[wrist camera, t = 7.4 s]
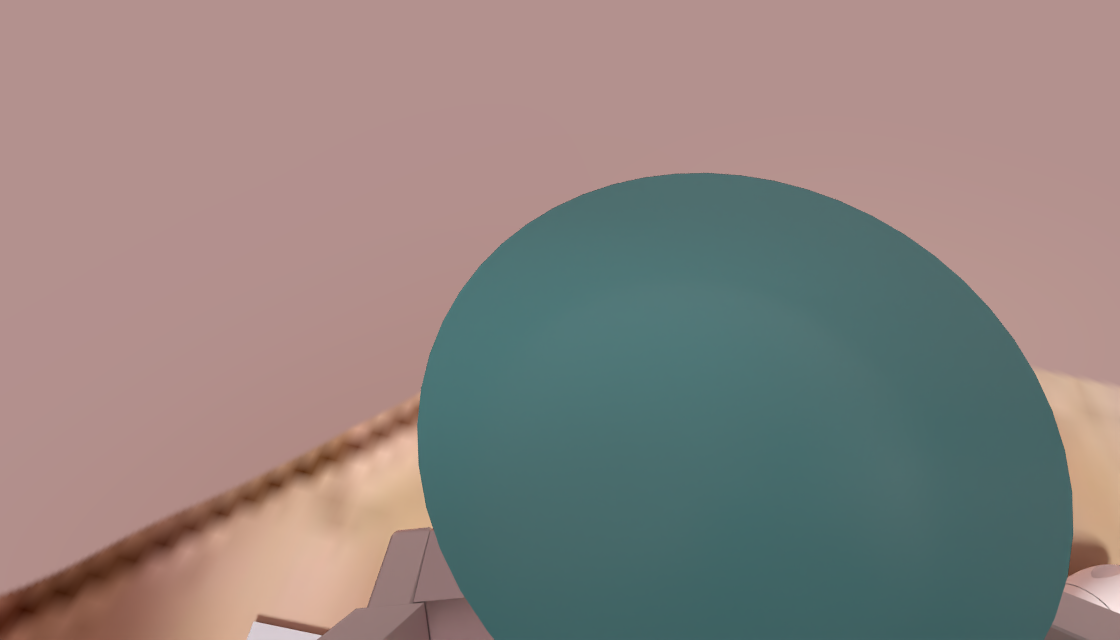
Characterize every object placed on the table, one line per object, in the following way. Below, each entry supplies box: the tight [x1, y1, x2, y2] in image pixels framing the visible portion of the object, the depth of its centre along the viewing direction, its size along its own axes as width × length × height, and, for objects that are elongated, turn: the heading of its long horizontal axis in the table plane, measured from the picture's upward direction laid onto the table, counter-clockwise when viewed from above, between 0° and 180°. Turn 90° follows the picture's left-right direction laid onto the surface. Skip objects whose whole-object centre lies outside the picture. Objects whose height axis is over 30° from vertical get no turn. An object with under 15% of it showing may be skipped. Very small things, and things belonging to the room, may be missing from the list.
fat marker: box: [417, 173, 1073, 640], centre depth 9 cm, size 4×4×12 cm
